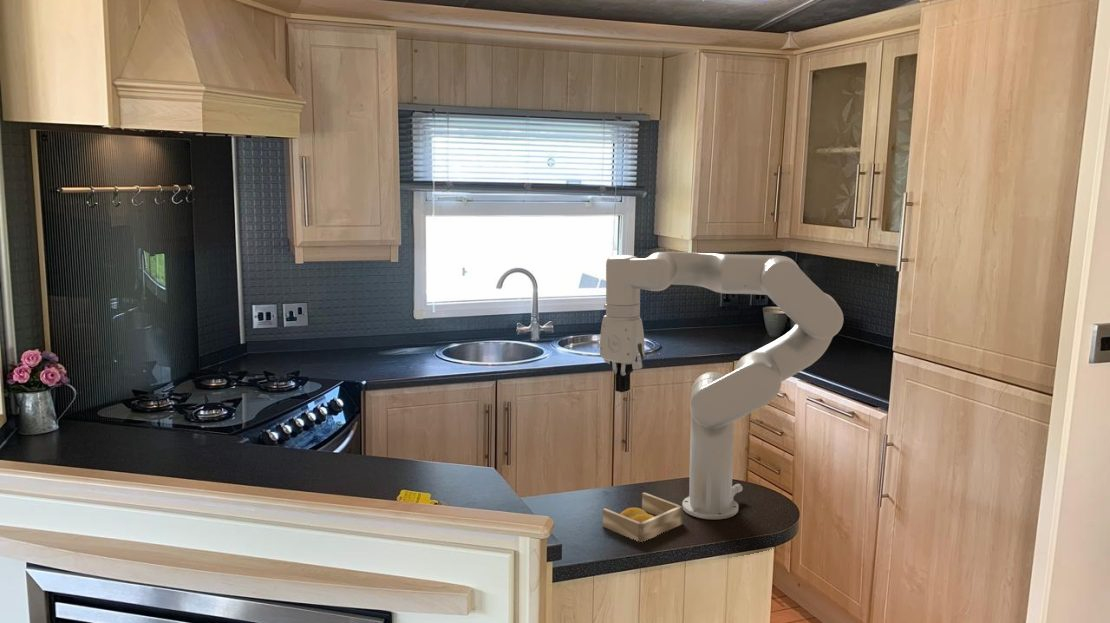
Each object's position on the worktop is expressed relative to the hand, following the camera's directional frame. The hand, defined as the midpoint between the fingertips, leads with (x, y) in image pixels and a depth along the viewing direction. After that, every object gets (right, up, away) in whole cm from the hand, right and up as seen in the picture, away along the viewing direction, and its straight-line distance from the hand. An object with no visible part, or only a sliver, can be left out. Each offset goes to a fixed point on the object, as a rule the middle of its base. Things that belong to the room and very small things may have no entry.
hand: (622, 390), depth 196 cm
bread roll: (+2, -29, -8) cm, 31 cm away
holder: (+4, -29, -7) cm, 30 cm away
